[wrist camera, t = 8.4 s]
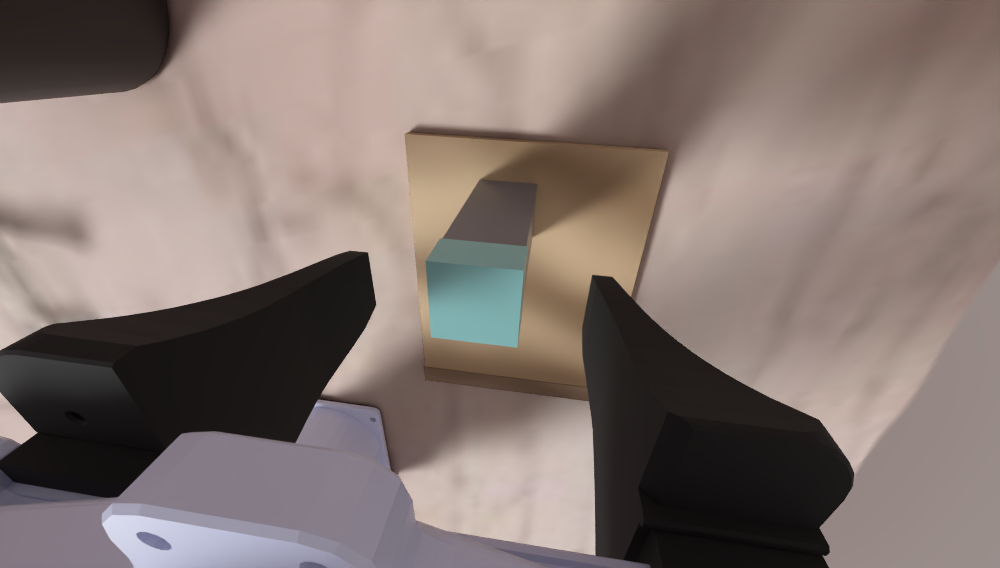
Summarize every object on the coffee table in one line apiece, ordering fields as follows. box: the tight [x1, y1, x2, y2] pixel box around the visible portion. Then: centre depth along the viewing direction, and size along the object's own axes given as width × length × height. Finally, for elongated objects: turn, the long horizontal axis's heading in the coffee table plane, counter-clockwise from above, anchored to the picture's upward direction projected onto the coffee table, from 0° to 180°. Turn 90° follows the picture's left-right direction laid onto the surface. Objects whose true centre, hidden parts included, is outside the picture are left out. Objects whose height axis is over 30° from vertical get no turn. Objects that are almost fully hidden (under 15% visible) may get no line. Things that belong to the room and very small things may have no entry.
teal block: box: [426, 179, 537, 348], centre depth 15 cm, size 3×3×9 cm
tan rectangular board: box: [405, 132, 669, 401], centre depth 22 cm, size 16×12×1 cm
